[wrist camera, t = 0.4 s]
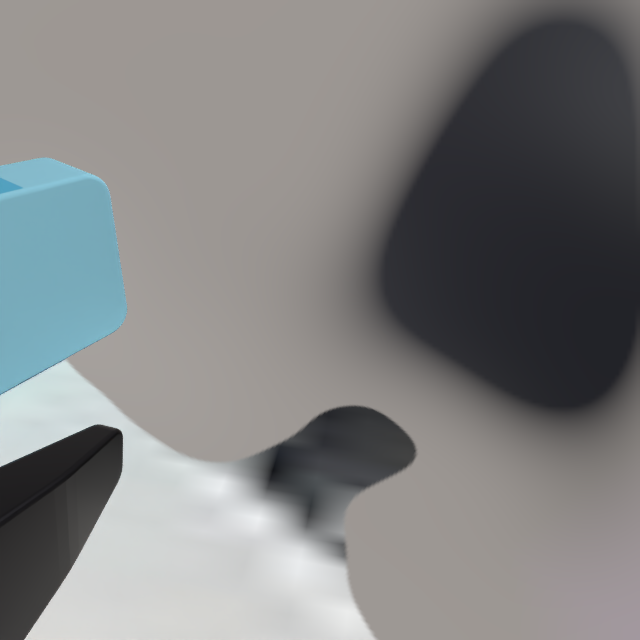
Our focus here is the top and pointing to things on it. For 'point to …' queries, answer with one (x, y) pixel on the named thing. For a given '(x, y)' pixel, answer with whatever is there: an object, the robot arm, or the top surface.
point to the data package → (54, 266)
